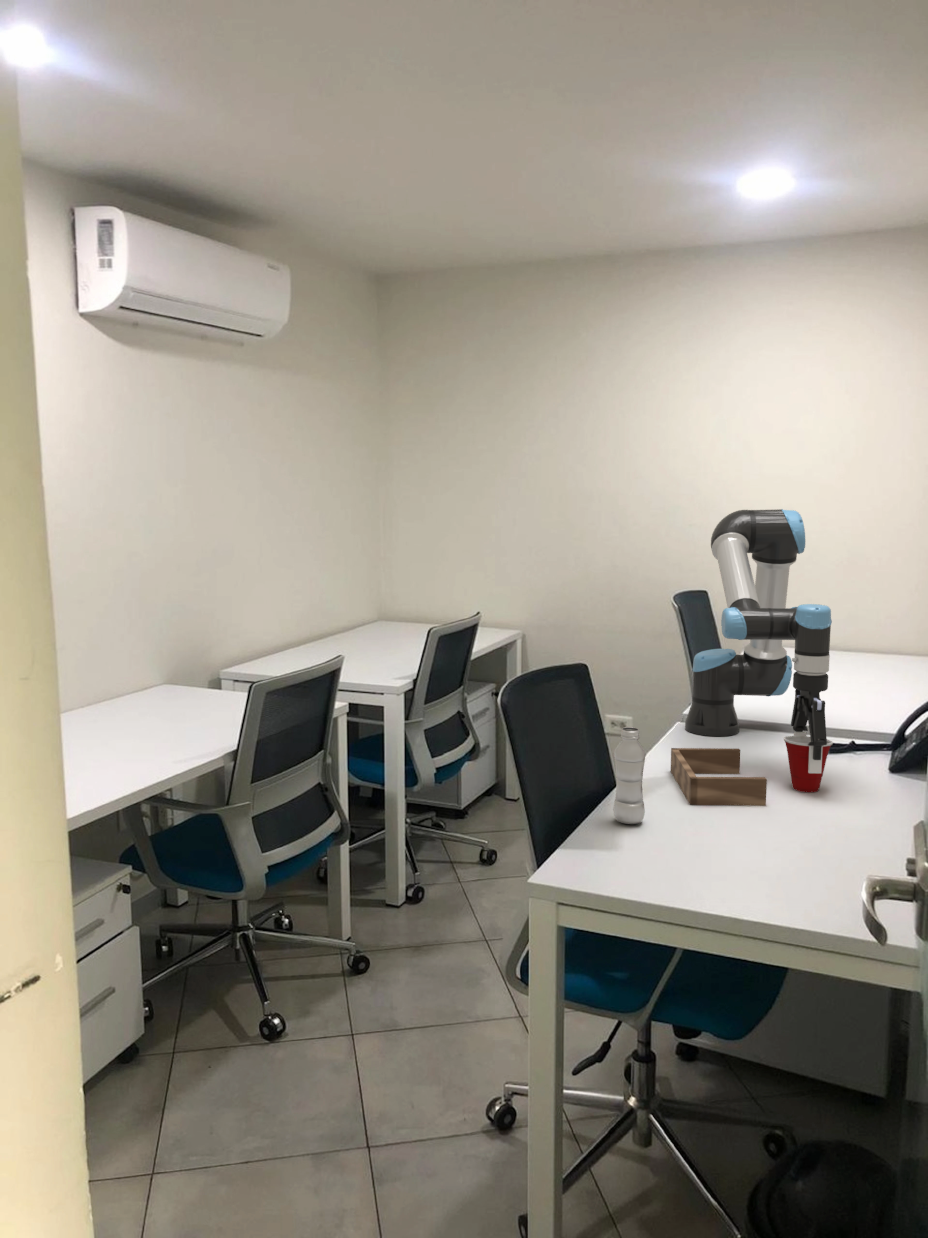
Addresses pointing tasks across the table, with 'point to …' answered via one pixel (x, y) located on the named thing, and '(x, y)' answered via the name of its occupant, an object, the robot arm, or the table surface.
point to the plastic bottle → (629, 778)
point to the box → (715, 788)
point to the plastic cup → (804, 763)
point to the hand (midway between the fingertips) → (806, 765)
